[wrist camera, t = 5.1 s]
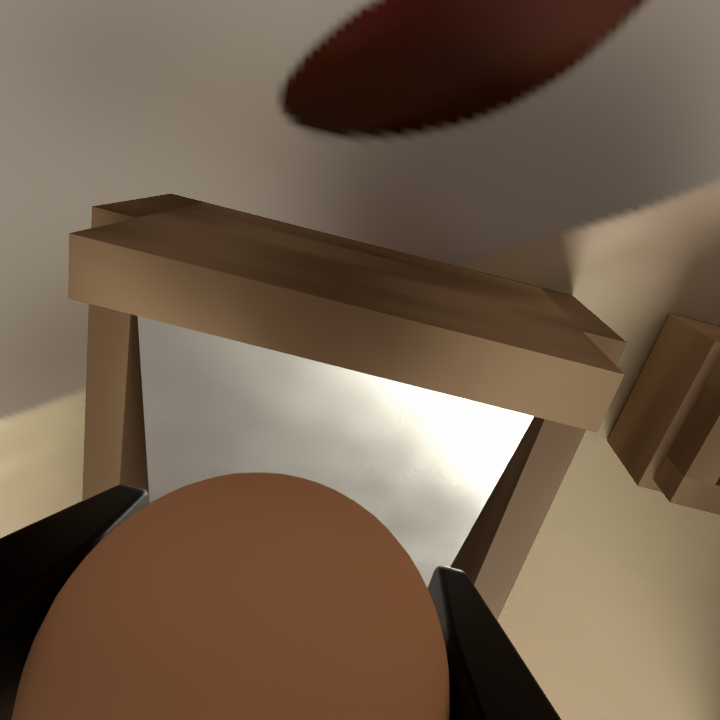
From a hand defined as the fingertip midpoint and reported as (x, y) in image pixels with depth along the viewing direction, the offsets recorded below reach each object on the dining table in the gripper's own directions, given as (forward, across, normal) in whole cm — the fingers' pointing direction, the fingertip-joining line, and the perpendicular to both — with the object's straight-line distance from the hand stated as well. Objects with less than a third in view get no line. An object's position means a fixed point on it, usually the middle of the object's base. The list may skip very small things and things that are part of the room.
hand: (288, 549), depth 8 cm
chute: (+8, 0, +4) cm, 9 cm away
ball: (-2, 0, 0) cm, 2 cm away
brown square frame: (+9, -11, -1) cm, 14 cm away
